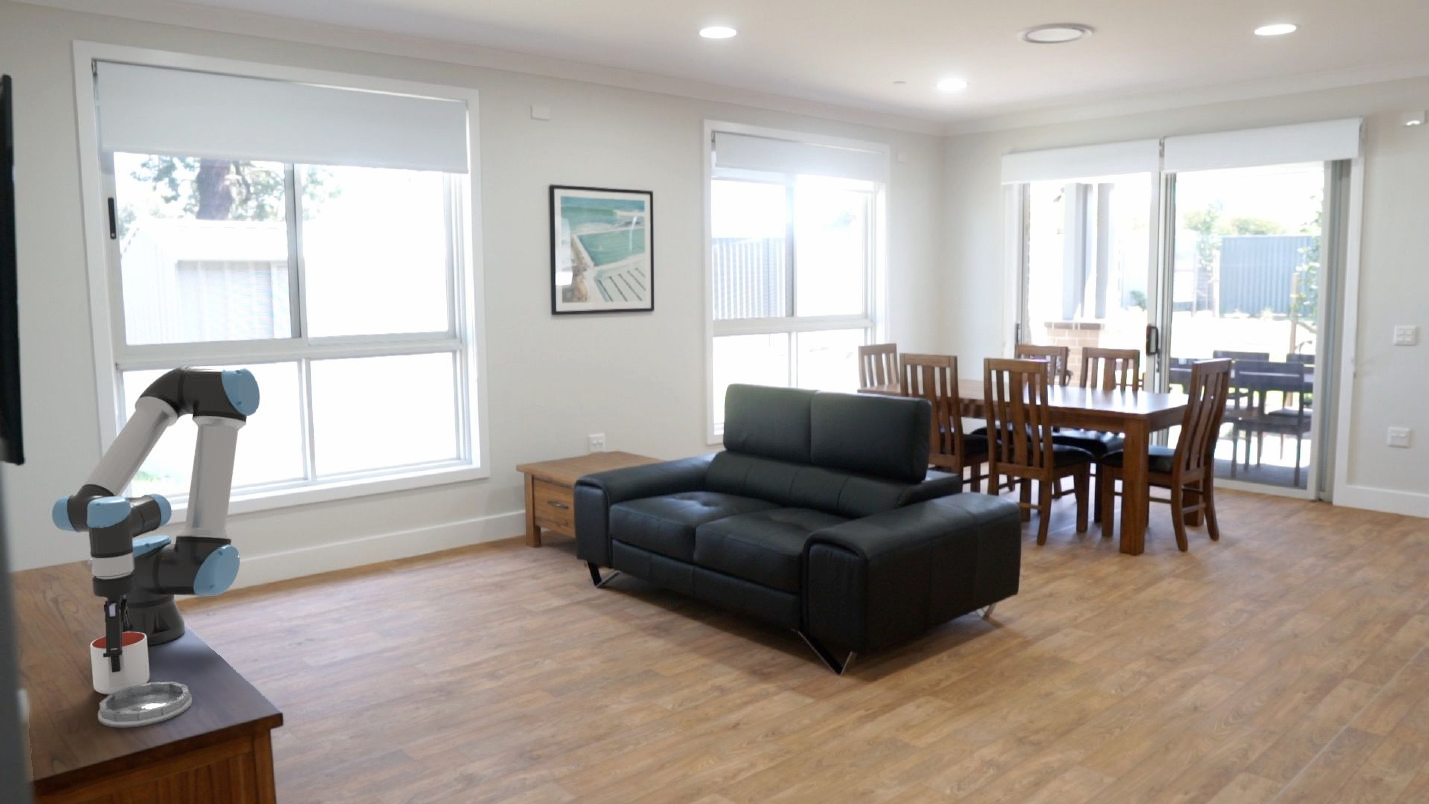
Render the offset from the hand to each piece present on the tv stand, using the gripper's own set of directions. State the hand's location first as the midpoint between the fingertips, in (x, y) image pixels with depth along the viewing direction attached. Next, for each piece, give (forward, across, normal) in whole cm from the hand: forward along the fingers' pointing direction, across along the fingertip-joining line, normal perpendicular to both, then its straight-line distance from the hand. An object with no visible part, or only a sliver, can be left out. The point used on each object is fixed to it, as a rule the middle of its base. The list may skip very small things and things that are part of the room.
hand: (121, 674), depth 209 cm
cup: (+3, 0, 0) cm, 3 cm away
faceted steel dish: (+3, +15, +5) cm, 16 cm away
